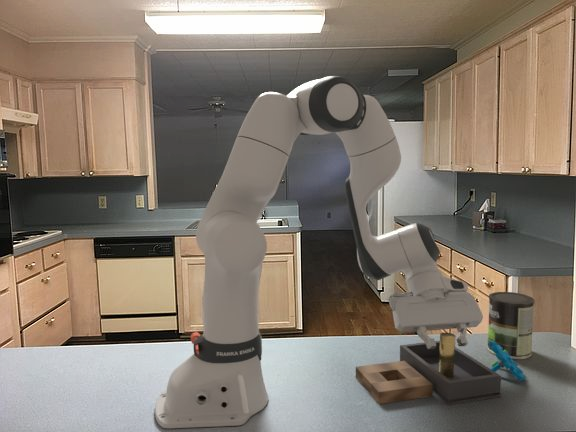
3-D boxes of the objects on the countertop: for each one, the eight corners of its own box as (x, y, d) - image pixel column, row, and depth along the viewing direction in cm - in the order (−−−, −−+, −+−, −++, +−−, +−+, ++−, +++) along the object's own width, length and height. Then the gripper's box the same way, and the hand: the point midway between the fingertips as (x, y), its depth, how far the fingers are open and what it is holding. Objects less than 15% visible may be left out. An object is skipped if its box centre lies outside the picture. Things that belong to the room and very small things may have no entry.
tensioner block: (378, 403, 90) (378, 392, 90) (355, 377, 102) (355, 366, 102) (432, 395, 93) (432, 384, 93) (404, 370, 105) (404, 360, 104)
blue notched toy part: (528, 383, 94) (492, 343, 98) (505, 398, 96) (471, 359, 100) (526, 369, 104) (494, 333, 108) (506, 383, 106) (474, 348, 109)
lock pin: (443, 378, 98) (445, 338, 98) (435, 371, 102) (437, 333, 101) (456, 376, 99) (458, 337, 98) (448, 370, 102) (450, 332, 101)
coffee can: (494, 358, 110) (496, 302, 109) (482, 342, 121) (483, 291, 119) (539, 360, 109) (541, 303, 108) (523, 344, 119) (525, 292, 118)
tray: (448, 404, 89) (448, 383, 89) (399, 363, 109) (400, 345, 108) (500, 396, 92) (500, 375, 92) (444, 357, 112) (444, 340, 111)
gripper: (390, 286, 104) (407, 344, 95) (472, 282, 107) (496, 337, 98) (383, 300, 109) (398, 355, 100) (462, 295, 112) (484, 349, 103)
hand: (447, 346), depth 99 cm, fingers open, 6 cm apart
